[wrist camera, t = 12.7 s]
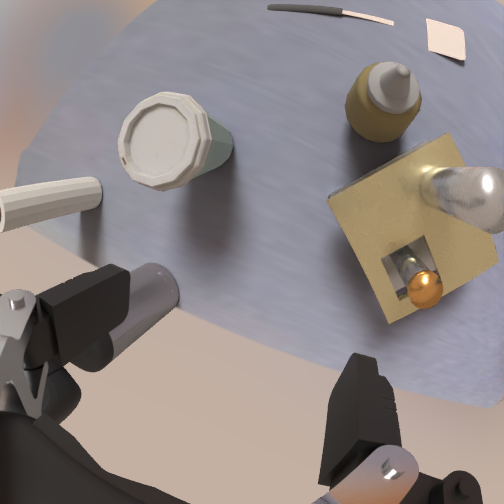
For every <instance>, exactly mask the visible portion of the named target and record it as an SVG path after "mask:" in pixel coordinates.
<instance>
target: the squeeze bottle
mask: <svg viewBox="0 0 504 504" xmlns="http://www.w3.org/2000/svg"><path fill="white" fill-rule="evenodd" d="M421 100H422V98H421V93H420V89H419V85H418V81H417V79H416V78H415V76H414V75H413V73H412V72H411V71H410V70H409V68H408V67H407V66H405V65H401V64H398V63H395V62H382V63H375V64H372V65H370V66H368V67H366V68H364V70H363V71H362V72H361V73H360V75H359V76H358V77H357V79H356V81H355V83H354V84H353V86H352V88H351V89H350V91H349V93H348V95H347V99H346V103H345V110H346V115H347V119H348V121H349V123H350V124H351V126H352V127H353V129H354V130H355V131H356V132H357V133H358V134H360V135H361V136H362V137H364V138H365V139H368V140H371V141H374V142H377V143H382V142H391V141H393V140H395V139H397V138H399V137H401V135H402V134H403V133H404V131H405V130H406V129H407V127H408V126H409V125H410V123H411V122H412V121H413V119H414V118H415V116H416V115H417V114H418V112H419V111H420V106H421Z"/></svg>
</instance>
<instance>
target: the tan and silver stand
mask: <svg viewBox="0 0 504 504" xmlns="http://www.w3.org/2000/svg"><path fill="white" fill-rule="evenodd" d="M328 196H329V199H327V203H328V204H329V206H330V208H331V210H332V212H333V213H334V215H335V217H336V219H337V220H338V222H339V224H340V226H341V228H342V230H343V231H344V233H345V235H346V237H347V239H348V241H349V243H350V245H351V246H352V248H353V250H354V252H355V254H356V256H357V258H358V260H359V262H360V264H361V266H362V268H363V270H364V272H365V274H366V276H367V278H368V280H369V282H370V284H371V286H372V288H373V290H374V293H375V295H376V297H377V299H378V301H379V303H380V305H381V308H382V310H383V312H384V314H385V316H386V319H387V321H388V323H389V324H390V323H392V322H395V321H397V320H399V319H401V318H403V317H405V316H407V315H409V314H411V313H413V312H415V311H416V310H418V309H420V308H417V307H415V306H414V305H413V304H412V302H411V300H410V298H409V296H408V293H407V292H406V293H404V294H402V295H400V296H398V297H397V294H396V292H395V291H397V290H399V289H401V288H403V287H405V284H404V282H403V281H402V279H401V277H400V275H399V273H398V272H397V270H396V268H395V266H394V265H393V263H392V261H391V259H390V258H389V256H388V255H389V254H391V253H392V252H394V251H396V250H398V249H400V248H402V247H403V246H405V245H408V246H409V247H410V248H411V249H412V250H413V251H414V252H415V254H416V255H417V256H418V257H419V258H420V259H421V260H422V261H423V263H424V264H425V265H426V266H427V267H428V268H429V270H430V271H434V270H436V271H437V274H438V275H437V276H438V277H439V278H440V279H441V281H442V283H443V294H442V296H444V295H446V294H448V293H449V292H451V291H453V290H455V289H456V288H458V287H460V286H461V285H463V284H465V283H466V282H468V281H470V280H471V279H473V278H475V277H476V276H478V275H479V274H481V273H482V272H484V271H486V270H487V269H489V268H490V267H492V266H493V265H495V264H496V263H498V262H499V261H498V257H497V253H496V249H495V245H494V242H493V238H492V235H491V234H497V233H500V232H502V231H504V171H503V170H501V169H499V168H495V167H466V166H465V164H464V161H463V159H462V157H461V155H460V153H459V151H458V149H457V147H456V145H455V143H454V141H453V139H452V137H451V135H450V133H446V134H444V135H442V136H440V137H438V138H437V139H435V140H433V141H431V142H430V140H429V139H428V140H426V141H424V142H422V143H421V144H419V145H417V146H415V147H413V148H412V149H410V150H408V151H406V152H404V153H402V154H401V155H399V156H397V157H395V158H393V159H392V160H390V161H388V162H386V163H385V164H383V165H381V166H379V167H377V168H376V169H374V170H372V171H370V172H368V173H367V174H365V175H363V176H361V177H360V178H358V179H356V180H354V181H352V182H351V183H349V184H347V185H345V186H344V187H342V188H340V189H338V190H336V191H335V192H333V193H331V194H329V195H328Z"/></svg>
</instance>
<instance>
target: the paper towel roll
mask: <svg viewBox="0 0 504 504" xmlns="http://www.w3.org/2000/svg"><path fill="white" fill-rule="evenodd" d="M101 199H102V188H101V185H100V182H99V181H98V180H97V179H96V178H94V177H83V178H75V179H67V180H59V181H52V182H45V183H38V184H32V185H26V186H20V187H15V188H9V189H4V190H0V233H2V232H5V231H9V230H12V229H16V228H19V227H22V226H26V225H30V224H33V223H37V222H41V221H44V220H48V219H52V218H56V217H60V216H64V215H68V214H72V213H76V212H80V211H84V210H89V209H93V208H96V207H97V206H98V205H99V204H100V202H101Z"/></svg>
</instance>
